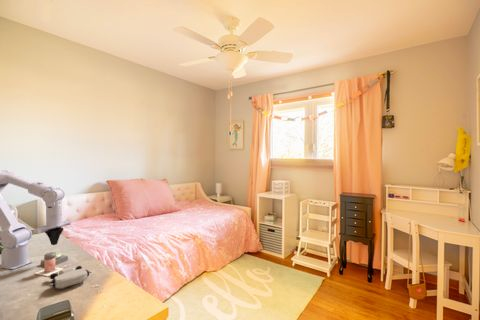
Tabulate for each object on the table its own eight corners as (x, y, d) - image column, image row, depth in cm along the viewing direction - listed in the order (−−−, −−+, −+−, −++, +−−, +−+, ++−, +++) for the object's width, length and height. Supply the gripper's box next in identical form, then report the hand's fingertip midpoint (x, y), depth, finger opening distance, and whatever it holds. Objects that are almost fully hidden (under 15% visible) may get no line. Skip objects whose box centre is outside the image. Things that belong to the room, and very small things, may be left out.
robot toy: (46, 283, 90) (52, 296, 79) (45, 272, 90) (51, 282, 80) (83, 272, 99) (92, 282, 88) (82, 261, 99) (92, 270, 89)
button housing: (40, 264, 104) (40, 260, 104) (57, 258, 111) (57, 254, 111) (51, 266, 102) (51, 262, 102) (67, 260, 109) (67, 255, 109)
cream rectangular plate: (34, 274, 96) (34, 273, 96) (51, 267, 102) (51, 266, 102) (48, 276, 93) (48, 275, 93) (64, 269, 99) (64, 268, 99)
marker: (41, 271, 96) (42, 255, 96) (52, 267, 100) (52, 251, 100) (47, 273, 95) (47, 256, 95) (57, 269, 99) (57, 253, 99)
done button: (44, 263, 105) (44, 257, 105) (56, 258, 110) (56, 252, 110) (52, 264, 103) (52, 258, 103) (64, 259, 108) (64, 253, 108)
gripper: (42, 219, 98) (42, 251, 98) (75, 212, 112) (75, 239, 112) (31, 218, 100) (31, 249, 100) (65, 211, 114) (65, 238, 114)
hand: (54, 244), depth 106 cm, fingers closed
